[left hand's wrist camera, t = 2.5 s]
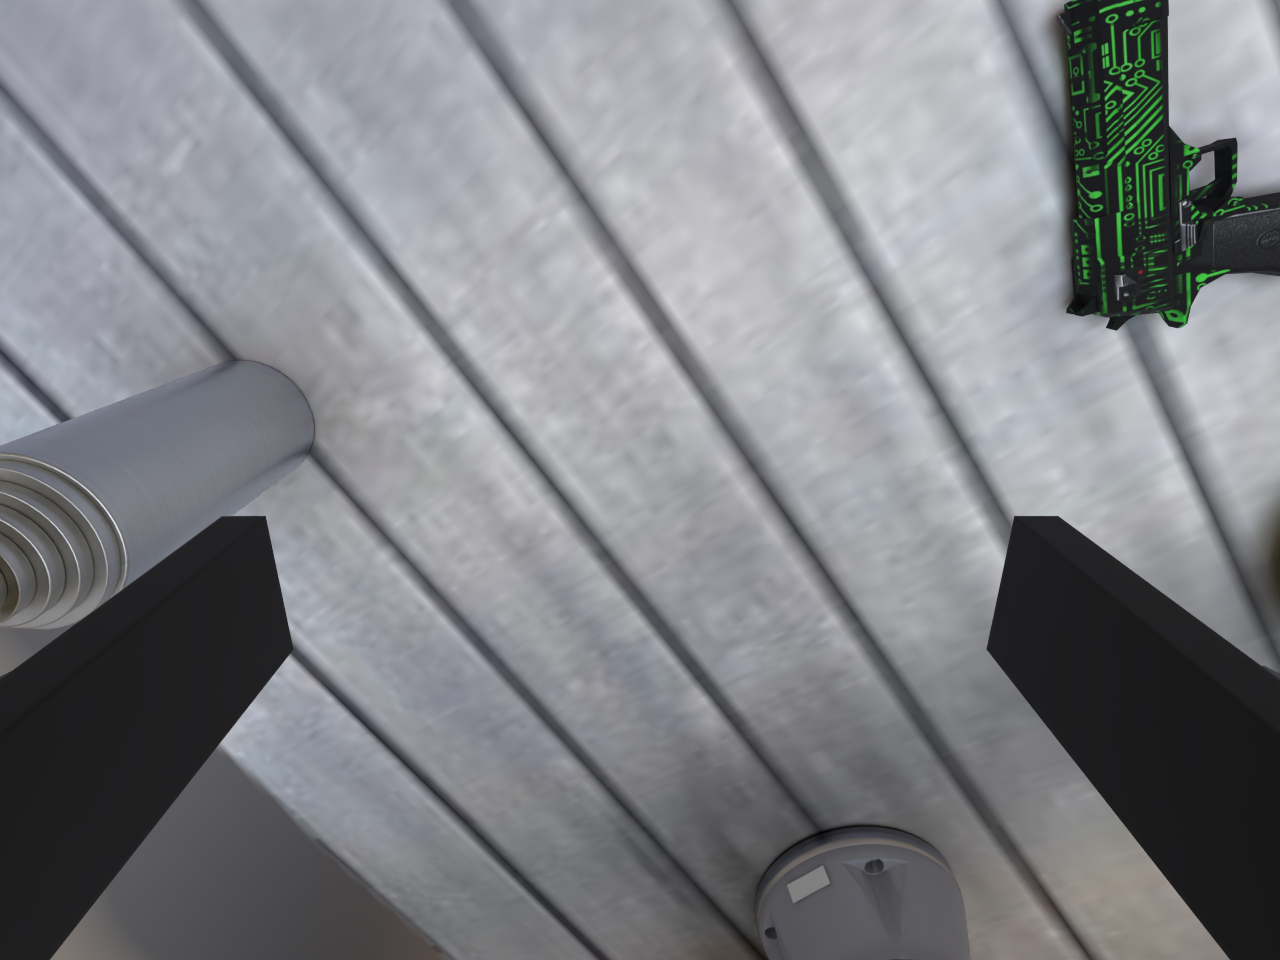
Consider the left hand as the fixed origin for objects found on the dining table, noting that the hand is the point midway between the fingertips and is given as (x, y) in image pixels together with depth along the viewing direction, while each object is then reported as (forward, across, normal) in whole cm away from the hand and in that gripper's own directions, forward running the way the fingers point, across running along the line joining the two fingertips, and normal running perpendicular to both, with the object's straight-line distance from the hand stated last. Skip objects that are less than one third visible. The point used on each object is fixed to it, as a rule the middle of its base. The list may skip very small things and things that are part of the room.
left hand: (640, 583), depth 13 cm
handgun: (+28, +28, +8) cm, 40 cm away
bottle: (+28, -22, -5) cm, 36 cm away
